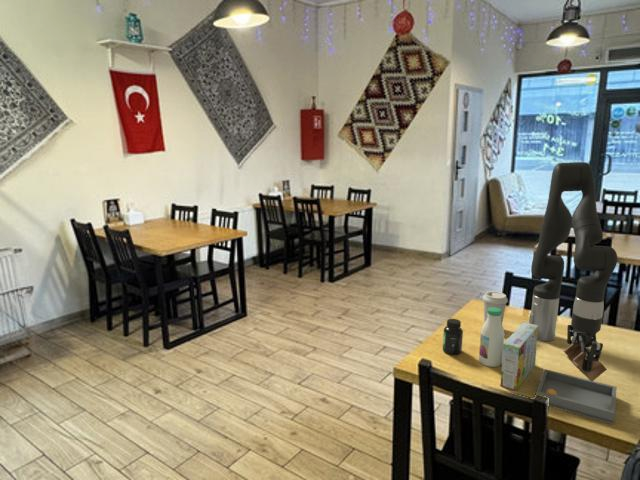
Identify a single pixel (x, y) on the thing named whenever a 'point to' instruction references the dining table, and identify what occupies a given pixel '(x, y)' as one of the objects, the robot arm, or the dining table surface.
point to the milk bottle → (492, 339)
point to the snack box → (519, 355)
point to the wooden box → (577, 359)
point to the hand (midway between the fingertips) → (580, 365)
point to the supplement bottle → (452, 337)
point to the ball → (551, 392)
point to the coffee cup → (494, 302)
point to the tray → (579, 395)
